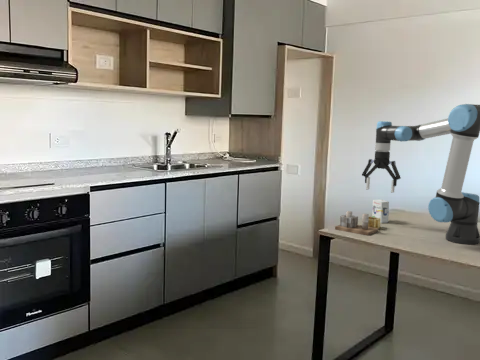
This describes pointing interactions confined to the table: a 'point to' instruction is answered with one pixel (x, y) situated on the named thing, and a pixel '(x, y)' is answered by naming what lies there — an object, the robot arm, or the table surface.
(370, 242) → the table surface
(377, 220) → the brass gear
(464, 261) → the table surface
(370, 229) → the gear board
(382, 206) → the ink box
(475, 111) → the robot arm
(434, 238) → the table surface
